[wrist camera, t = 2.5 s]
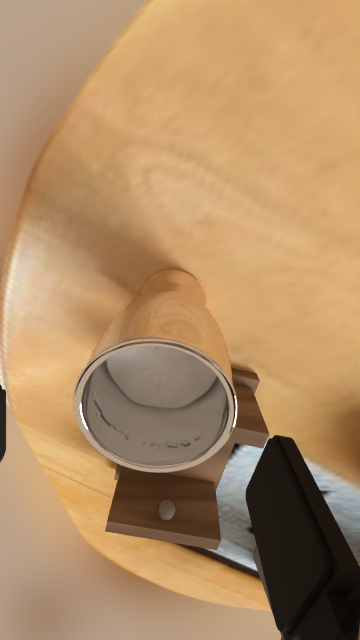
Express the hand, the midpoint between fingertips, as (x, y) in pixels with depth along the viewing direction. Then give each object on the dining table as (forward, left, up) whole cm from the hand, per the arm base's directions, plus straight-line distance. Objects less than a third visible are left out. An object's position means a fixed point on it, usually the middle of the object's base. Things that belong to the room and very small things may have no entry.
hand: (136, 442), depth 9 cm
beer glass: (0, 0, -16) cm, 16 cm away
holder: (+14, +4, -16) cm, 22 cm away
